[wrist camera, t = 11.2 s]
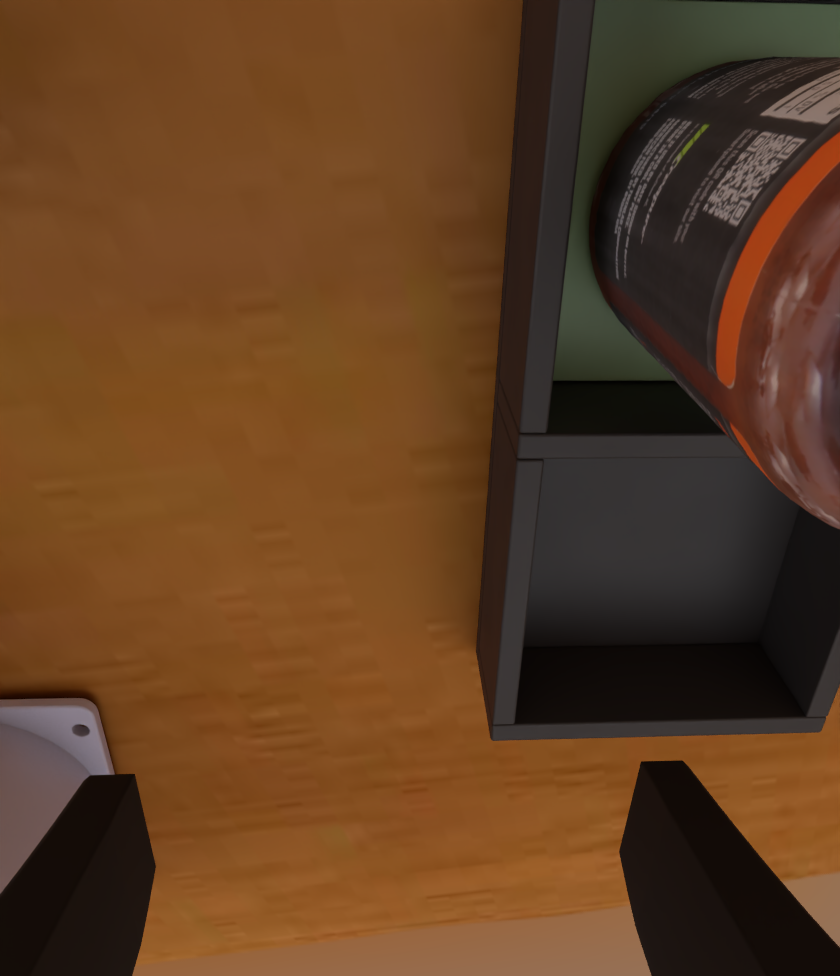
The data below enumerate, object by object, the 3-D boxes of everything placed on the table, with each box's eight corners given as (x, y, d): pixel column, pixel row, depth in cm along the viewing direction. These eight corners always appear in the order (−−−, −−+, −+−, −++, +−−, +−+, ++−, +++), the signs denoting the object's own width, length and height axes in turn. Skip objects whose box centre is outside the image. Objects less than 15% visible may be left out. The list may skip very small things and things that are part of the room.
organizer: (764, 645, 24) (821, 733, 21) (475, 651, 23) (490, 742, 20) (978, -30, 15) (1129, -49, 12) (526, -43, 15) (565, -66, 12)
